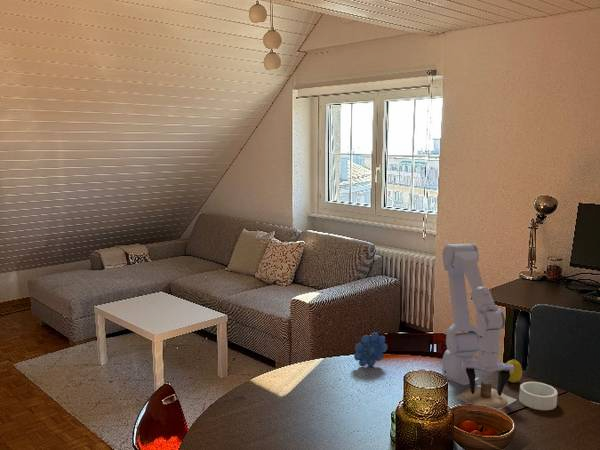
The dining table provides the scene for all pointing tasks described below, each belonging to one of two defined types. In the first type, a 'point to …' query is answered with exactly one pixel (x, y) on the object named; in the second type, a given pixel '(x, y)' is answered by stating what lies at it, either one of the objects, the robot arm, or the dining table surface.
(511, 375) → the lemon
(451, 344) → the robot arm
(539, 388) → the bowl
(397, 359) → the dining table surface
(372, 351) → the grapes
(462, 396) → the mat
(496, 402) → the lid
